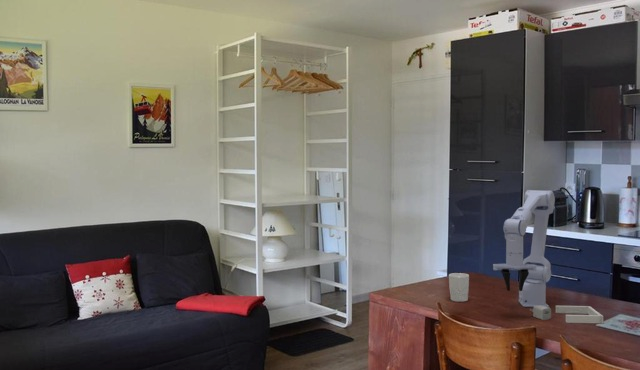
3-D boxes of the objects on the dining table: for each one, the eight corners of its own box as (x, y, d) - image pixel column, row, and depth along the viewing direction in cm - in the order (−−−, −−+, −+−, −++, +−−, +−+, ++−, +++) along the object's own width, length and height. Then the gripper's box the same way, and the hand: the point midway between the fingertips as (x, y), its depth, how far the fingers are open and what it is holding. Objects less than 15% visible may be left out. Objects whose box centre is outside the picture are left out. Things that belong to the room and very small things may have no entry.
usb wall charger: (542, 320, 200) (542, 309, 200) (527, 315, 207) (527, 304, 206) (550, 319, 202) (551, 307, 202) (536, 314, 208) (536, 303, 208)
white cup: (457, 303, 224) (456, 277, 224) (445, 299, 231) (444, 274, 231) (473, 300, 227) (473, 275, 227) (461, 296, 235) (460, 272, 234)
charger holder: (566, 322, 197) (566, 315, 197) (555, 312, 210) (555, 305, 210) (603, 323, 196) (603, 316, 196) (589, 313, 209) (590, 306, 208)
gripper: (495, 254, 201) (495, 292, 202) (538, 254, 199) (538, 293, 200) (492, 250, 208) (491, 287, 209) (533, 251, 206) (533, 288, 207)
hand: (514, 290), depth 205 cm, fingers open, 4 cm apart
